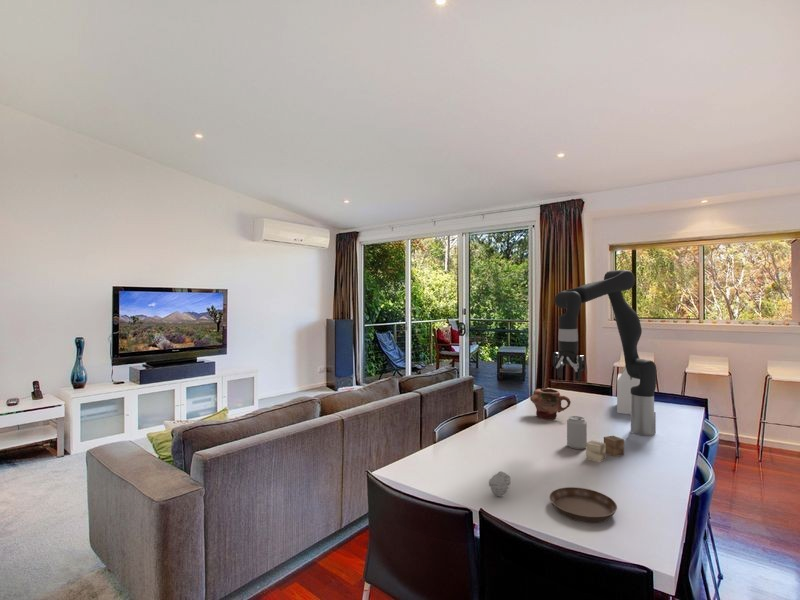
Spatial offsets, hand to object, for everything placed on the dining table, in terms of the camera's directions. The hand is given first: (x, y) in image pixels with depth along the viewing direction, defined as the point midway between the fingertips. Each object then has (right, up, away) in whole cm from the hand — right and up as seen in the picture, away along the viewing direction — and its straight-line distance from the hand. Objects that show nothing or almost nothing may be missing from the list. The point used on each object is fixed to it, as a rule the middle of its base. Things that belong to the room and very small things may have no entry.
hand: (568, 379), depth 174 cm
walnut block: (+14, -28, -9) cm, 32 cm away
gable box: (+57, -28, +57) cm, 85 cm away
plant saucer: (-17, -28, -53) cm, 63 cm away
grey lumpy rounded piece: (-39, -28, -44) cm, 65 cm away
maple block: (+5, -28, -14) cm, 31 cm away
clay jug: (+7, -28, +42) cm, 51 cm away
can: (+3, -28, -1) cm, 28 cm away
